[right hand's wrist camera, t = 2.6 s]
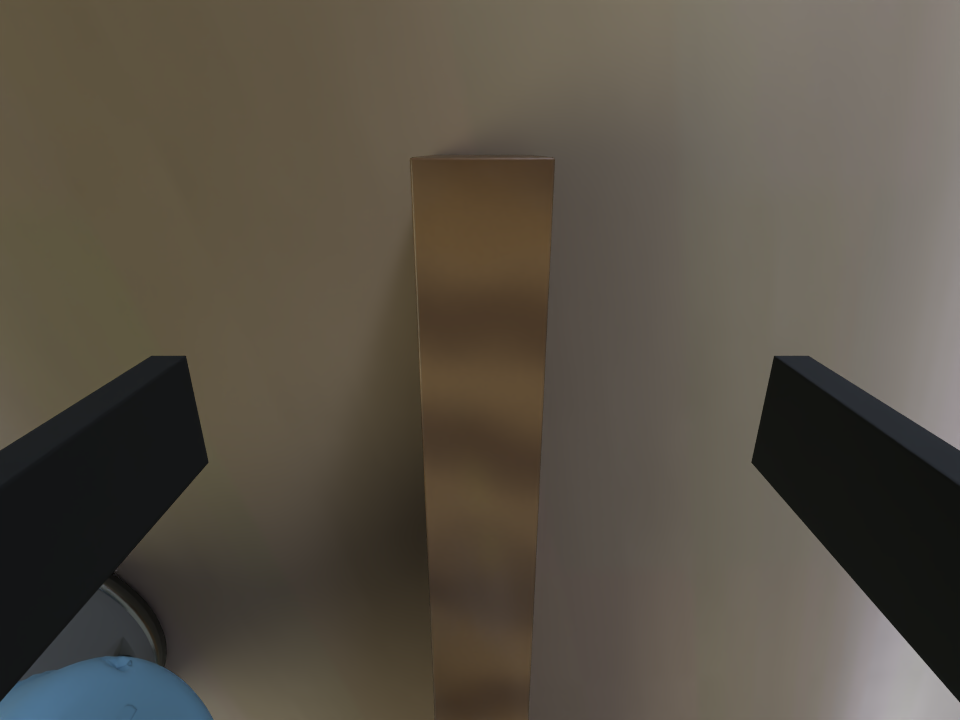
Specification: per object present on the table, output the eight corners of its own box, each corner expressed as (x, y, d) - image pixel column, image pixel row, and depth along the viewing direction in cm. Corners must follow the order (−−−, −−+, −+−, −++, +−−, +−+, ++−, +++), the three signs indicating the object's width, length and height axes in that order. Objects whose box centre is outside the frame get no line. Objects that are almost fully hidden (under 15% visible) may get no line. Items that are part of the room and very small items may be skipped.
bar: (430, 155, 27) (409, 157, 19) (532, 155, 27) (555, 157, 19) (453, 891, 50) (448, 1034, 42) (508, 891, 50) (513, 1034, 42)
